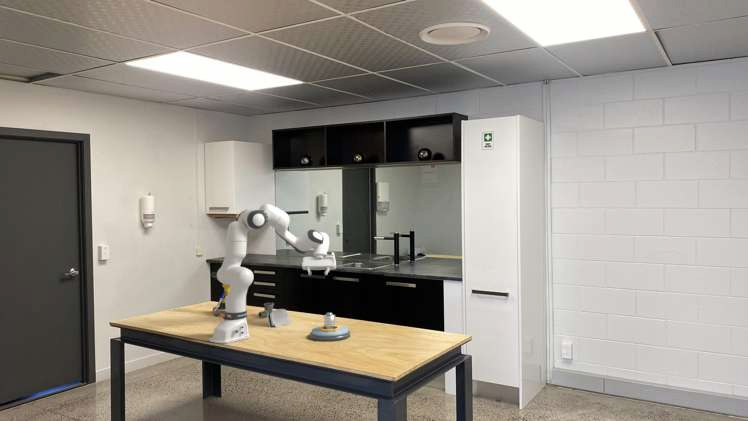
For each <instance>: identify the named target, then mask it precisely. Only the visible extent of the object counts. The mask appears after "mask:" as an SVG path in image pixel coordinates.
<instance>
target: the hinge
mask: <svg viewBox="0 0 748 421" xmlns="http://www.w3.org/2000/svg"><path fill="white" fill-rule="evenodd" d="M266 318H267V324H268V327H269V328H272V327H274V328H276V329H277V328H279V327H281V326H284V325H287V324H290V323H293V321H292V318H290V316H289V313H288V311H287V310H286V309H285V308H278V309H275V310H273V311H272V312H271V313H269V314H268V315H267V317H266Z"/></svg>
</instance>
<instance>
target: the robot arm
mask: <svg viewBox="0 0 748 421" xmlns="http://www.w3.org/2000/svg"><path fill="white" fill-rule="evenodd" d="M290 221H291V220H290V215H289V214H288V213H287V212H285V211H284V210H283V209H281V208H279V207H277V206H275V205H273V204H270V203H263V204H262V205H261V206H260V207H259V208H258V209H245V210H242V211H241V212H240V213H239V215H238V216H237V218H236V220H234V221H232V222H230V223H229V225H228V227H227V232H226V241H225V243H226V244H225V255H224V258H223V262H222V264H221V267H220V268H219V269H218V270H217V271H216V272H217V279H218V280H217V279H216V280H217V281H219V282H220V283H221V284H222V283H223V284H225V285H230V291H229V294H228V295H227V296H226V298H225V308H226V311H225V313H224V314H222V313H221V314H220V315H219V316H218V317H219V318H222V320H221V321H220V322H219V324H218V325H217V326H216V327H215V328H214V330H213V336H212V337H210V338H208V341H209V342H211V343H215V344H229V343H233V342H238V341H242V340H246V339H250V331H249V327H248V321H247V320H248V319H247V317H248V311H247V294H248V290H249V287H250V286H251V285H252V283H254V282H253V281H254V273H253V271H252V270H251V269H249V268H247V267H244V266H241V264H242V261H243V259H245V258H246V255H247V248H248V247H247V244H248V233H249V231H250V230H252V231H253V230H260V229H261V228H263V227H264V226H265V225H266V224H267V225H269V226H270V227H272V228H273V229H274V231H275V234H276V235H278V237H280V239H282V240H283V241H284V242H286V243H287V244H288V245H289V246H291V247H292V248H293V250H295V252H297V253H299V254H300V255H301V254H302V255H304V254H306V253H307V252H309V251H310V250H311V249H313V254H312V255H305V256H304V257H302V263H301V268H302V270H303V271H307V272H308V276H312V274H313V273H312V271H321V270H324V275H325V276H328V273H330V271H331V270H332V271H333V270H336V269H337V260H336V255H335V252H333V251H330V250H329V248H330V237H329V235H328V233H326V232H324V231H323V232H322V231H320V232H319V231H317V230H315V229H309V230H307V231H305V233H303V234H302V235H301V236H299V237H298V236H297V237H296V236H295V235H293V233H291V232H290V231H289V230H288V228H289V227H290Z"/></svg>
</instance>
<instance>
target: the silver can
mask: <svg viewBox="0 0 748 421" xmlns="http://www.w3.org/2000/svg"><path fill="white" fill-rule="evenodd" d="M323 323H324V324H323V326H324V329H327V330H330V329H335V326H336V314H333V312H326V314H324V315H323Z"/></svg>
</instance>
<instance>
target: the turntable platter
mask: <svg viewBox="0 0 748 421" xmlns="http://www.w3.org/2000/svg"><path fill="white" fill-rule="evenodd" d="M348 330H349V328H348V327H346V326H341V325H335V329H330V330H327V329H324V325H323V326H317V327H314V328H312V329H311V332H312V335H314V336H318V337H338V336H343V335H346V334H347V333H348Z"/></svg>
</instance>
